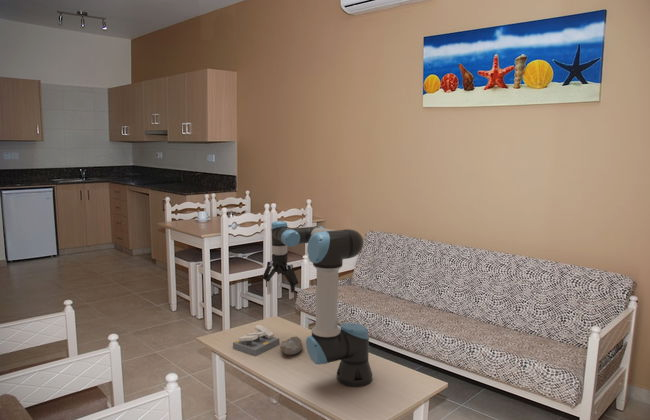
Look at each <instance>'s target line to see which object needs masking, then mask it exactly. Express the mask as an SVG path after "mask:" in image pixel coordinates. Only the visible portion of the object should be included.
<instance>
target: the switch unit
mask: <svg viewBox="0 0 650 420" xmlns="http://www.w3.org/2000/svg"><path fill="white" fill-rule="evenodd" d="M279 345H280V337H275V336H273V337H271V338H267V337H266V336H261V337H258V338H257V339H255V340H251V341H238V339H237V340H236V341H233V342H232V349H233V348H234V349H233V350H236V349H237V350H236V351H240V352H242V353H245V354H248V355H251V356H254V357H257V356H258V355H261V354H262V353H265V352H267V351H269V350H271V349H274V348H275V347H276V346H279Z"/></svg>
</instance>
